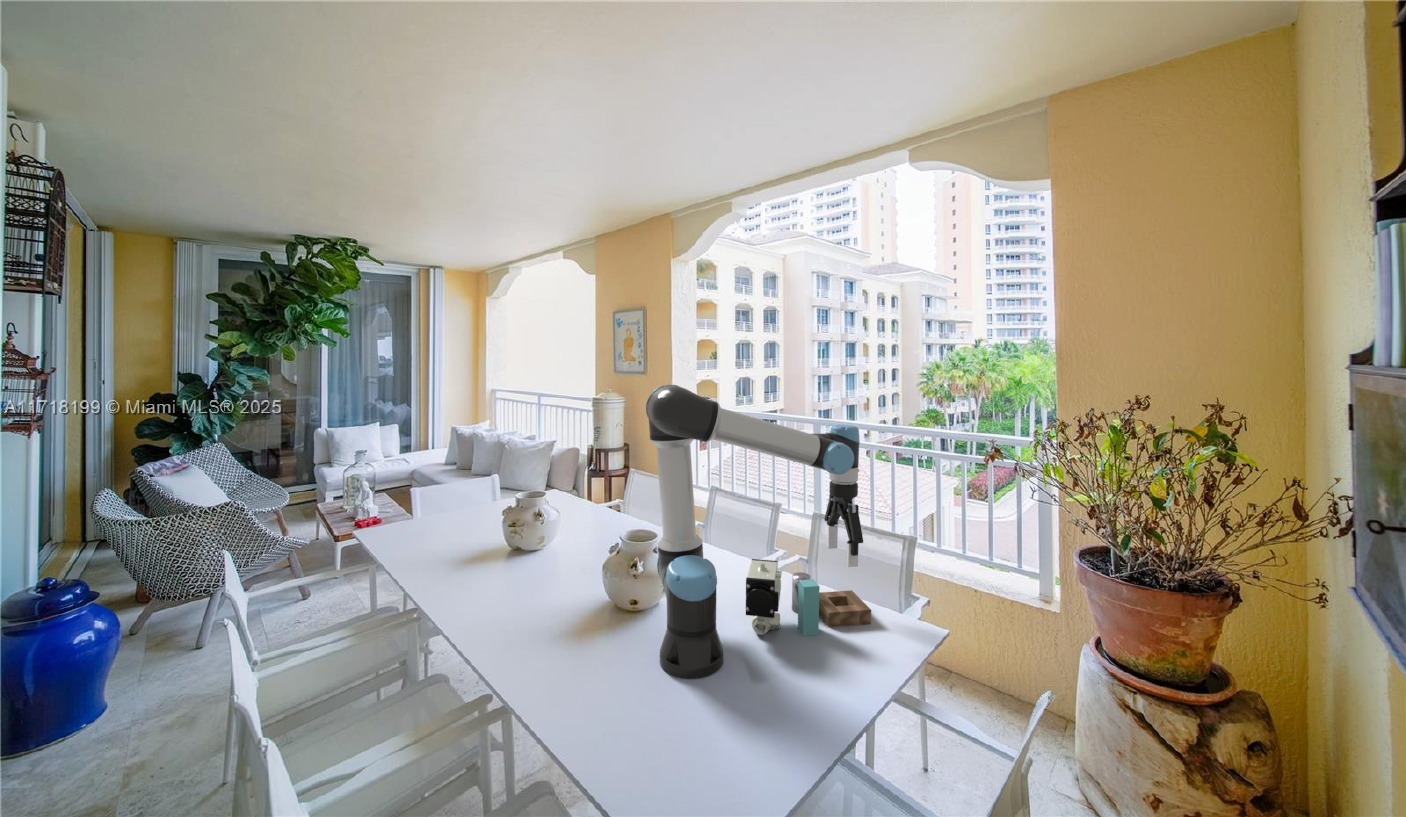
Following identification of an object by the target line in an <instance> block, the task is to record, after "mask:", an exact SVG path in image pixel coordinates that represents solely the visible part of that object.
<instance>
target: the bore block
mask: <svg viewBox="0 0 1406 817" xmlns="http://www.w3.org/2000/svg"><path fill="white" fill-rule="evenodd" d="M819 618H821V620H822V622H824V624H825V625H826V626H827V627H828V628H834V627H835V628H836V627H837V628H838V627H847V626H848V627H849V626H859V625H863V626H864V625H871V622H872V621H871V620H872V619H871V618H872V610H871V608H870V607H869V606H868V605H867V603H865V602H864V601H863V600H862V599H861V598H860V597H859V596H858V595H857V594H856V593H855V592H854V590H850V589H849V590H839V591H823V592H820V591H819Z"/></svg>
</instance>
